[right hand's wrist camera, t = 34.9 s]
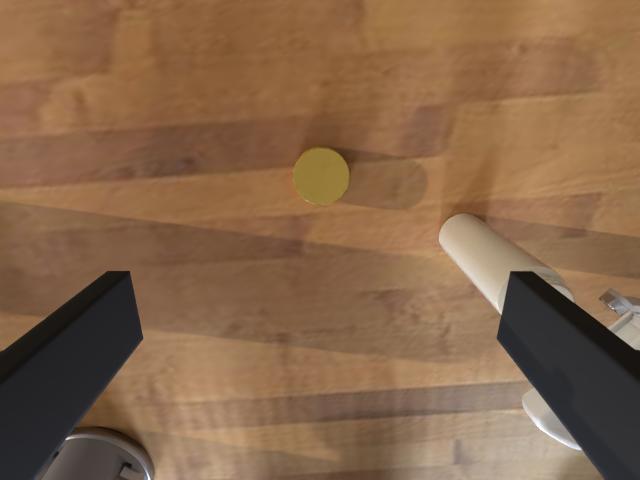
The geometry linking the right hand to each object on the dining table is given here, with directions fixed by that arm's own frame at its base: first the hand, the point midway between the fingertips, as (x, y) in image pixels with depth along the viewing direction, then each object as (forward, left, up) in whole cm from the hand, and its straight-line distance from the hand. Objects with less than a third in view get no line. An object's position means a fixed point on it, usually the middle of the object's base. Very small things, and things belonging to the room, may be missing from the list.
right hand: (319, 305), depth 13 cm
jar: (-3, -17, -26) cm, 32 cm away
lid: (0, 0, -25) cm, 25 cm away
